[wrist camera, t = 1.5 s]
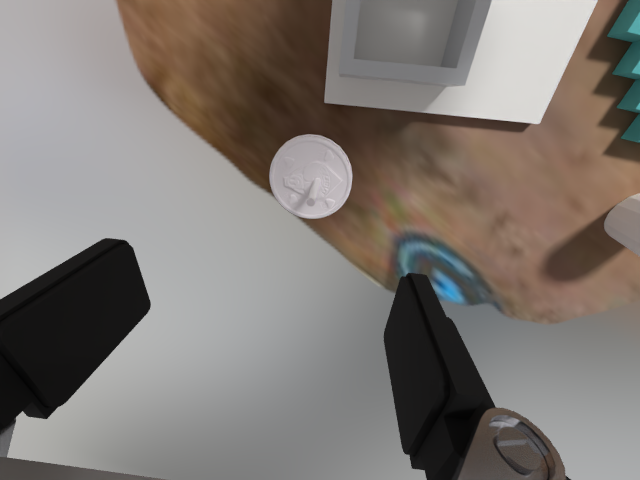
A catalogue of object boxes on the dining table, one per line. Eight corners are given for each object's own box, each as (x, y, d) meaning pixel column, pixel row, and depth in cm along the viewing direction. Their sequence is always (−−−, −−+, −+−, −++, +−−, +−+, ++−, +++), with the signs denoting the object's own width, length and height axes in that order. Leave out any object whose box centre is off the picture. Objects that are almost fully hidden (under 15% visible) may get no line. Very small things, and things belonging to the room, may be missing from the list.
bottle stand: (343, -122, 18) (342, -190, 14) (635, -102, 17) (731, -166, 13) (324, 102, 25) (320, 104, 21) (532, 123, 24) (572, 129, 20)
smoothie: (349, 183, 29) (353, 248, 17) (294, 184, 29) (258, 247, 17) (350, 121, 26) (356, 145, 14) (288, 123, 26) (239, 149, 14)
